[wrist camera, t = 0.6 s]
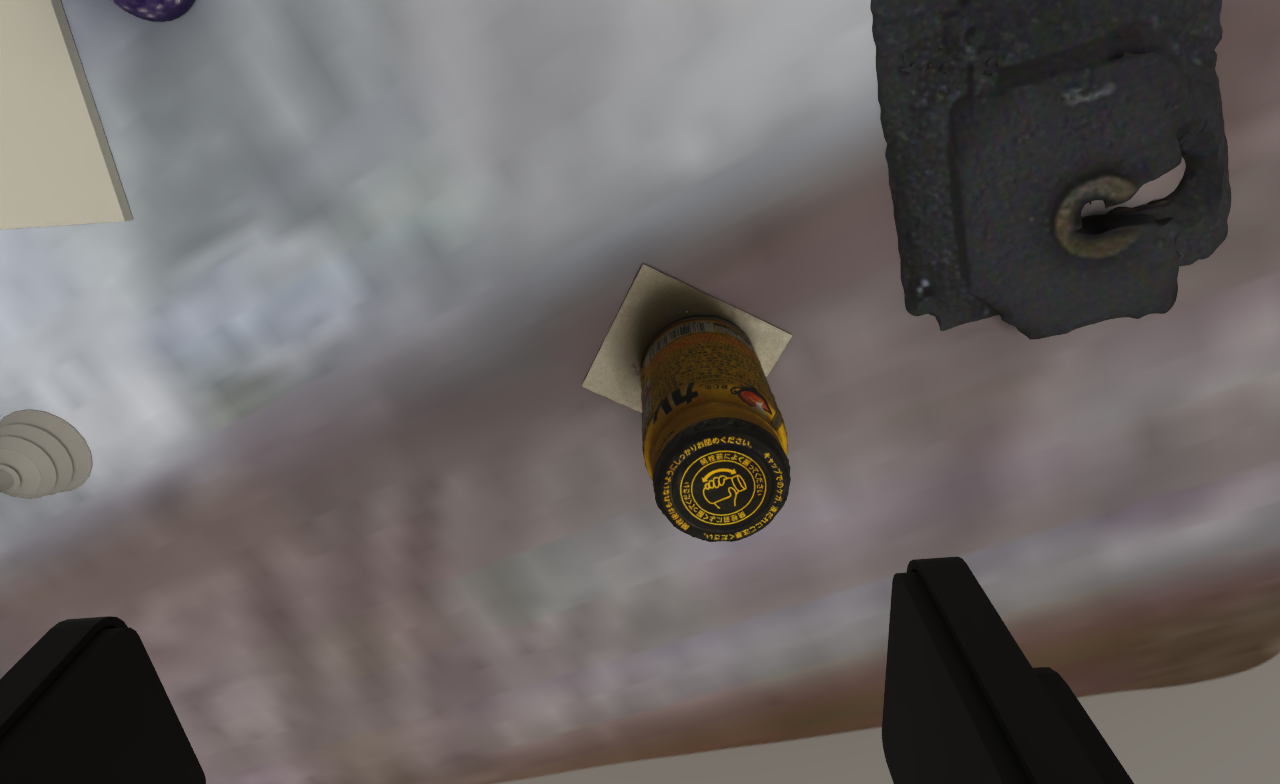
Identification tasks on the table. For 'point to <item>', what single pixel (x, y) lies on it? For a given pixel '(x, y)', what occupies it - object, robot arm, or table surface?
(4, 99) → the mat
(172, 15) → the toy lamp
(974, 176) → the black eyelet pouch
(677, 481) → the condiment
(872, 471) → the table surface
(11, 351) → the table surface
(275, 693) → the table surface
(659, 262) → the table surface
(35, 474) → the chalice
